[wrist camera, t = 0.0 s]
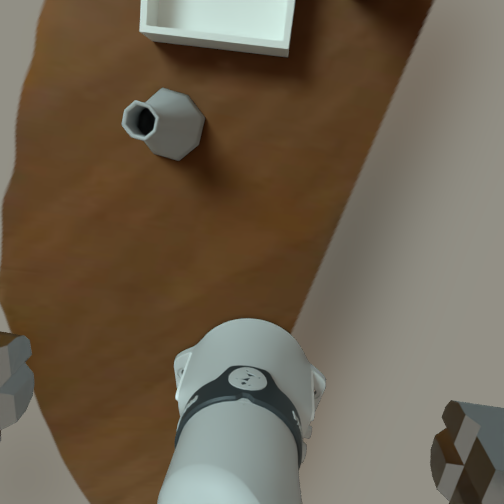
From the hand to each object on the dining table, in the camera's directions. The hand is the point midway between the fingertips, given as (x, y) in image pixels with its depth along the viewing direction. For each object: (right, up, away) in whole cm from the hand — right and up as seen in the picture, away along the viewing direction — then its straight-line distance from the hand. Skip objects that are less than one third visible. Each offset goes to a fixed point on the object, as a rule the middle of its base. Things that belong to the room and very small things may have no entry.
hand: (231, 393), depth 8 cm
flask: (-8, +16, +37) cm, 41 cm away
